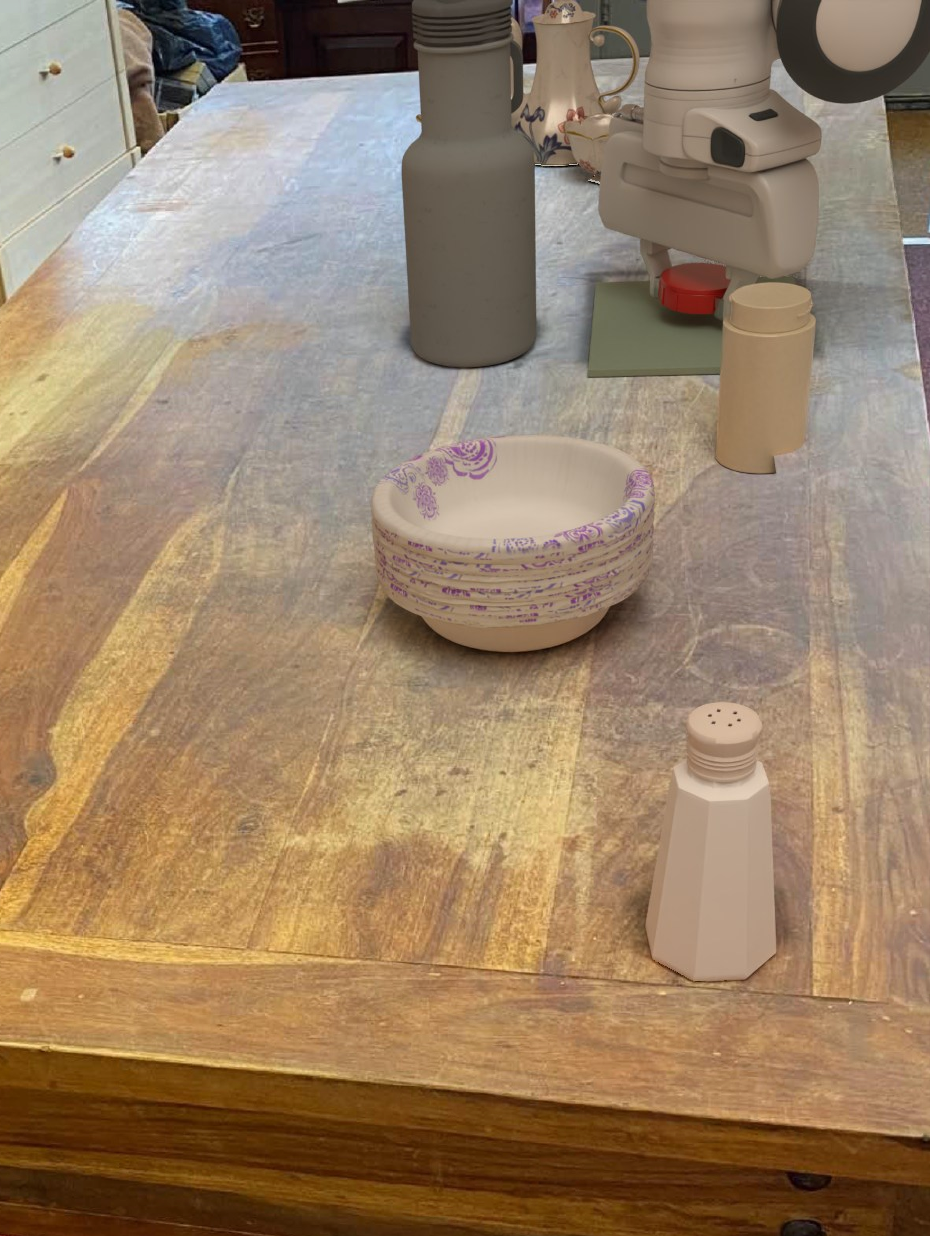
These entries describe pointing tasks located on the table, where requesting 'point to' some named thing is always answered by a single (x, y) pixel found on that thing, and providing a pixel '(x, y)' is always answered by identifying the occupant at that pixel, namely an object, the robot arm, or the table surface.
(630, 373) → the mat
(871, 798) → the table surface
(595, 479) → the paper bowls
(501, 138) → the water bottle
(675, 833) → the pepper shaker
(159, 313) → the table surface
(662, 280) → the lid
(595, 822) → the table surface
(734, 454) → the jar
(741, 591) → the table surface
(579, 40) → the chinaware
